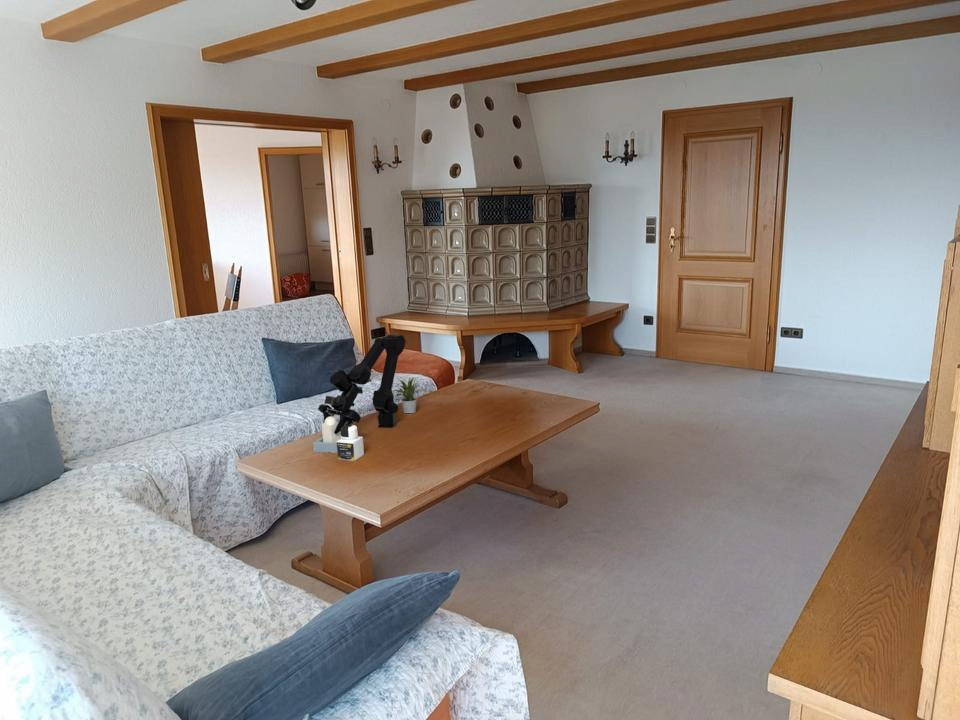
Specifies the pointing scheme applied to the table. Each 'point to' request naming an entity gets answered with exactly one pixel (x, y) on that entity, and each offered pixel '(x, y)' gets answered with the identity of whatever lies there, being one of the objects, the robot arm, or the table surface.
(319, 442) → the blue square ring
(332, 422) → the cream egg block
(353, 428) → the medicine bottle
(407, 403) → the house plant
